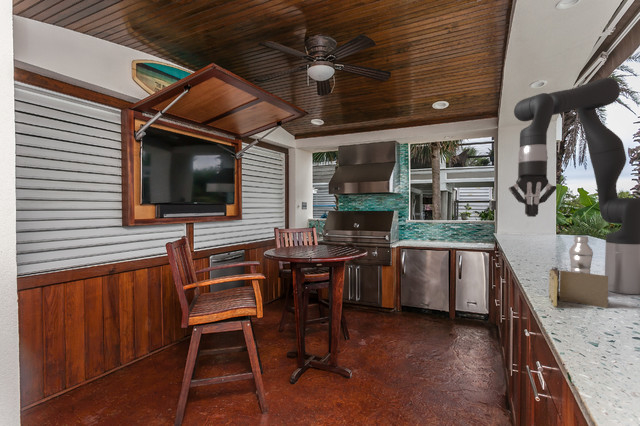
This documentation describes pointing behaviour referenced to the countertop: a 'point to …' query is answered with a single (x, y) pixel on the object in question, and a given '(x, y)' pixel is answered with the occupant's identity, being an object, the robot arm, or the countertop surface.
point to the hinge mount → (582, 288)
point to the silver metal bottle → (581, 255)
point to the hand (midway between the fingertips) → (531, 216)
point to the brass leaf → (553, 287)
